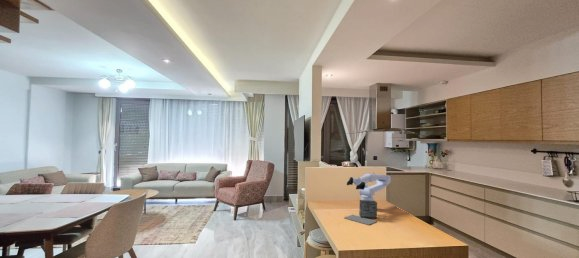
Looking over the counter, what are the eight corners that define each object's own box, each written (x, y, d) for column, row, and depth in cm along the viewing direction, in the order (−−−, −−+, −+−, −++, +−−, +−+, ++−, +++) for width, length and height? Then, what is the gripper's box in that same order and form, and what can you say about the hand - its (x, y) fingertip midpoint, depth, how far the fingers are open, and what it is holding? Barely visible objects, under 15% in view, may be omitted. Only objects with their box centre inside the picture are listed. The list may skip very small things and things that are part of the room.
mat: (352, 215, 173) (352, 214, 173) (376, 221, 160) (376, 221, 160) (343, 218, 166) (343, 217, 166) (368, 225, 153) (368, 224, 153)
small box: (374, 216, 172) (375, 200, 173) (377, 218, 166) (377, 202, 166) (358, 214, 173) (359, 199, 174) (360, 217, 167) (361, 201, 167)
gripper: (354, 172, 192) (344, 176, 183) (371, 179, 182) (361, 184, 173) (353, 181, 194) (342, 185, 184) (370, 188, 183) (360, 193, 174)
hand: (351, 185), depth 179 cm, fingers open, 7 cm apart
